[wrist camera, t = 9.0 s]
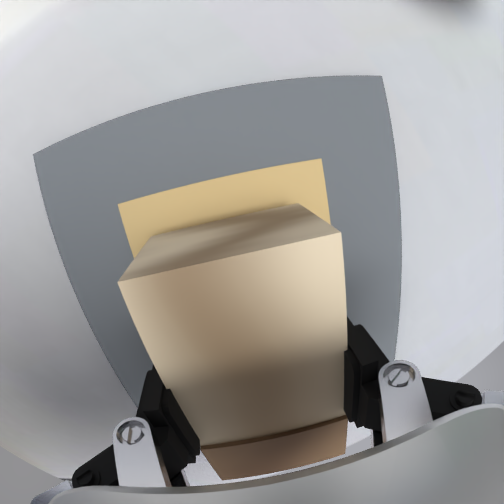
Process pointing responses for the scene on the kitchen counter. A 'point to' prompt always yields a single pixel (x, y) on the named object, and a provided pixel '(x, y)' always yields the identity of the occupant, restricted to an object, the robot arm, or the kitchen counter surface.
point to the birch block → (249, 335)
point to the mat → (228, 192)
